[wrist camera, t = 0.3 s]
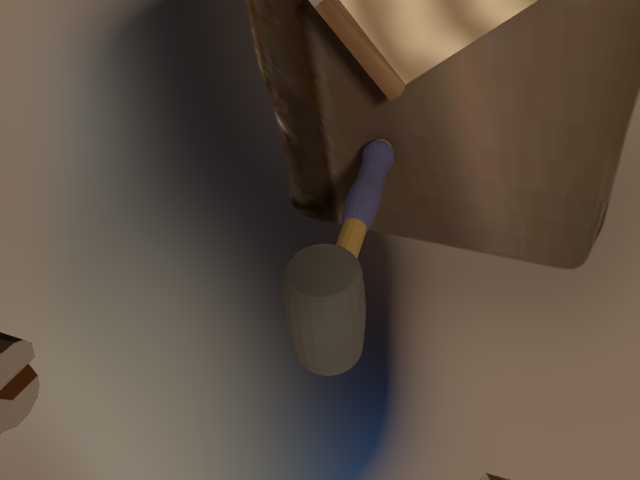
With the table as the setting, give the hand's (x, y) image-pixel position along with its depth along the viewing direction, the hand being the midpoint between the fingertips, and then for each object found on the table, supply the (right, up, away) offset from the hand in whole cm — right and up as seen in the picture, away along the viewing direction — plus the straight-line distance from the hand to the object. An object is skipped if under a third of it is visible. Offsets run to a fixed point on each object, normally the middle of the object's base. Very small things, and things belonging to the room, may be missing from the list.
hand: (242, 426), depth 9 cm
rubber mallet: (+9, +15, +57) cm, 60 cm away
